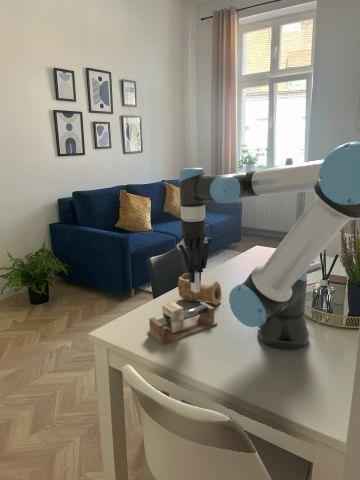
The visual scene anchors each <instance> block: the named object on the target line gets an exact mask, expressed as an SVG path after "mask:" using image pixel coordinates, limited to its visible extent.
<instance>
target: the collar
mask: <svg viewBox="0 0 360 480" xmlns="http://www.w3.org/2000/svg"><path fill="white" fill-rule="evenodd" d="M161 309H162V318H164V317H167V316H169V317H171V324H170V325H167V326H164V327H166V328H167V329H168V330H170V331H171V332H172V333H175V332H177V331H180V330H183V329H184V320H183V311H184V307H183V306H181V305H179V304H178V303H175V302H174V301H171V302H168V303H165V304H162V307H161Z"/></svg>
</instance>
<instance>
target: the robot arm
mask: <svg viewBox="0 0 360 480" xmlns="http://www.w3.org/2000/svg"><path fill="white" fill-rule="evenodd" d="M178 180H179V181H178V184H179V201H180V219H182V220H181V221H180V228H181V233H182V236H181V241H180V242H178V243H176V244H175V248H176V249H177V251H178V254H179V259H180V263H181V266H182V270H183V272H184V273H189V282H191V291H193V292H195V293H198V292H200V281H201V282H202V273H203V272H204V269H206V268H207V264H208V256H209V251H210V245H211V243H212V241H213V240H212V238H211V237H207V236H206V233H205V232H206V229H207V227H206V220H205V218H206V202H209V203H219V204H233V203H235V201H237V199H238V200H239V199H245V198H253V197H263V196H271V195H272V196H273V195H286V194H294V193H295V194H297V193H306V192H313V193H314V198H313V199H312V200H311V201H310V203H309V204H308V206H307V207H306V208H305V210H304V211H303V212H302V214H301V215H300V216H299V218H298V219H297V221H296V222H295V223H294V224H293V226H292V227H291V229H290V230H289V231H288V232H287V234H286V236H284V238H283V239H282V241H281V242H280V243H279V245H278V246H277V247H276V249H275V250H274V251H273V253H272V254H271V255H270V257H269V258H268V259H267V261H266V262H265V263H264V265H259V266H256V267H255V268H253V269H252V271H251V272H250V273H249V275H248V276H247V277H246V279H245V280H244V281H243V282H242V283H241V284H238V285H236V286H234V287H233V288H232V289H231V290H230V292H229V296H228V303H229V305H230V310H231V312H232V314H233V315H234V317H235V318H236V320H237V321H238V322H239V323H241V324H242V325H243V326H246V327H249V328H257V337H258V339H259V340H260V341H261V342H262V343H263V344H265V345H267V346H269V347H271V348H274V349H279V350H297V349H301V348H303V347H304V348H305V346H306V345H308V343H309V339H310V332H309V329H308V326H307V323H306V318H305V307H306V295H307V284H308V272H306V269H307V268H308V267H309V266H310V265H311V264H312V262H313V261H314V260H315V261H316V259H317V258H318V257H319V256H320V255H321V253H322V252H323V251H324V250H325V249H326V248H327V246H328V245H329V244H330V243H331V242H332V240H333V239H334V238H335V237H336V236H338V235H337V234H338V233H339V232H340V231H341V230H342V229H343V228H344V227H345V225H346V224H347V223H348V222H349V221H353V220H354V221H355V220H360V140H355V141H349V142H347V143H344V144H342V145H339V146H337V147H336V148H334V149H332V150H331V151H330V152H329V153H328V154H327V155H326V156H325V157H324V159H320V160H313V161H308V162H302V163H296V164H289V165H284V166H277V167H275V166H274V167H270V168H265V169H259V170H250V171H245V172H237V173H228V174H226V173H225V174H217V175H213V174H210V175H207V174H205V169H204V168H203V167H188V168H187V167H186V168H185V167H184V168H182V169H180V171H179V179H178Z"/></svg>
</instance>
